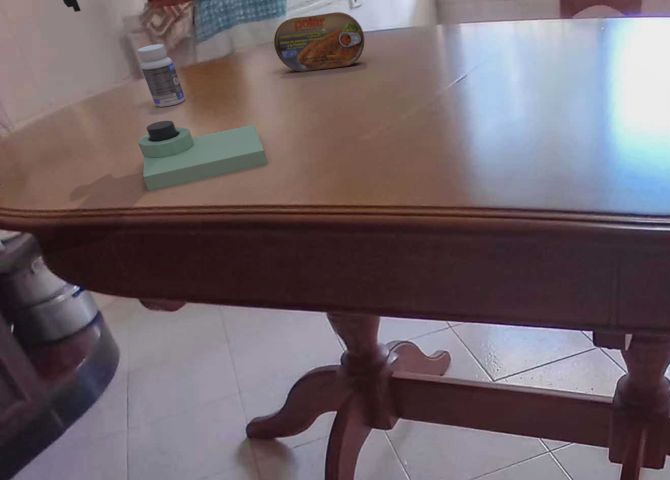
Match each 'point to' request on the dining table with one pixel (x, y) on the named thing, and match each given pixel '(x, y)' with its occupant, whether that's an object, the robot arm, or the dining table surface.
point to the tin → (319, 41)
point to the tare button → (161, 131)
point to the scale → (199, 156)
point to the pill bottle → (160, 76)
